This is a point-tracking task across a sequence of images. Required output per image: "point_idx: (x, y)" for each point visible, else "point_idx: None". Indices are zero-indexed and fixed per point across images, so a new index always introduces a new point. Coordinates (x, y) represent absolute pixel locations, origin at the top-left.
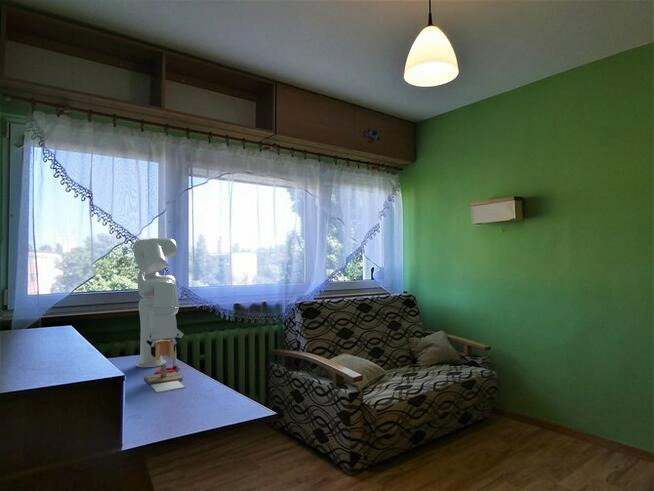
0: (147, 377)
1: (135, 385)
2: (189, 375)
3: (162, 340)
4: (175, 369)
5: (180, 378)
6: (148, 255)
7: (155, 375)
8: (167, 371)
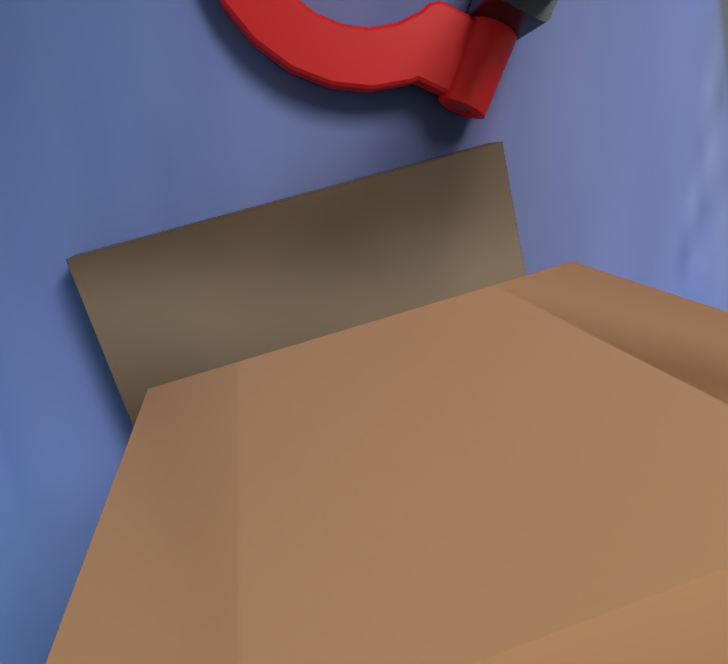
0: (129, 369)
1: (23, 567)
2: None
3: (668, 594)
4: (515, 33)
5: None
6: None
7: (234, 294)
8: (395, 84)
